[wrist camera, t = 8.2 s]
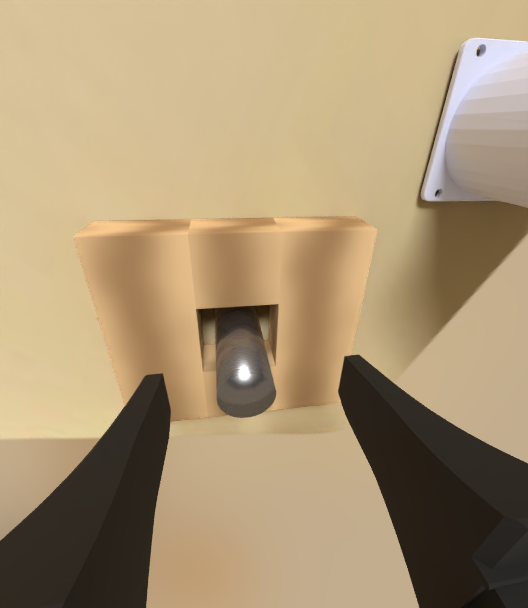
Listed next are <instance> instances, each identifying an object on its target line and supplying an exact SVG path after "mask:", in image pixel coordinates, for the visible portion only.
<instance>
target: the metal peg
mask: <svg viewBox="0 0 528 608" xmlns="http://www.w3.org/2000/svg"><path fill="white" fill-rule="evenodd" d="M215 342H216V390H217V404H218V406H219V408H220V409H221V410H222V411H223V412H224V413H226V414H228V415H230V416H233V417H240V418H245V417H252V416H256V415H258V414H261V413H263V412H264V411H266V410H267V409H268V408H269V407H270V406H271V405H272V404H273V403H274V401H275V398H276V388H275V384H274V380H273V376H272V372H271V368H270V364H269V360H268V356H267V352H266V348H265V344H264V340H263V336H262V332H261V328H260V324H259V320H258V316H257V312H256V308H255V306H238V307H221V308H216V309H215Z"/></svg>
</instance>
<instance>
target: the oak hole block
mask: <svg viewBox="0 0 528 608" xmlns="http://www.w3.org/2000/svg"><path fill="white" fill-rule="evenodd" d="M377 231H378V229H376V228H374V227H373V226H371V225H369V224H368V223H366V222H364V221H363V220H361V219H359V218H358V217H356V216H350V217H296V218H242V219H188V220H135V221H93V222H92V223H91V224H89V225H88V226H87V227H86V228H84V229H83V230H82V231H81V232H79V233H78V234H77V235H75V236H74V237H73V239H74V242H75V245H76V248H77V252H78V255H79V258H80V261H81V265H82V268H83V271H84V274H85V278H86V281H87V284H88V288H89V291H90V294H91V297H92V301H93V304H94V307H95V310H96V314H97V317H98V320H99V323H100V327H101V330H102V333H103V336H104V340H105V343H106V346H107V349H108V353H109V356H110V359H111V363H112V366H113V369H114V372H115V376H116V379H117V382H118V385H119V389H120V392H121V395H122V398H123V402H124V405H126V404H127V402H128V401H129V399H130V398H131V396H132V395H133V393H134V392H135V390H136V389H137V387H138V386H139V384H140V383H141V381H142V379H143V378H144V377H145V376H146V375H150V374H161V373H163V376H164V380H165V385H166V390H167V394H168V399H169V403H170V408H171V418H170V421H179V420H188V419H197V418H206V417H215V416H224V415H228V414H226V413H224V412H223V411H222V410H221V409H220V408H219V406H218V404H217V390H216V344H211V345H204V342H203V332H202V322H201V312H200V309H204V308H221V307H238V306H255V305H270V314H269V340H264V344H265V348H266V352H267V356H268V360H269V364H270V368H271V372H272V376H273V380H274V384H275V388H276V398H275V401H274V403H273V404H272V405H271V406H270V407H269V408H268V409H267V410H266V411H270V410H279V409H288V408H297V407H306V406H315V405H324V404H334V403H341V400H340V397H339V394H338V388H339V383H340V378H341V372H342V367H343V361H344V356H350V355H351V353H352V349H353V344H354V339H355V334H356V330H357V325H358V320H359V316H360V311H361V306H362V302H363V297H364V292H365V287H366V283H367V278H368V273H369V269H370V264H371V259H372V255H373V250H374V245H375V240H376V236H377Z"/></svg>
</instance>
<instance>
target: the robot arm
mask: <svg viewBox="0 0 528 608" xmlns="http://www.w3.org/2000/svg"><path fill="white" fill-rule="evenodd" d="M478 47H480V54H479V56H478V57H477V55H476V51H477V48H478ZM437 190H439V192H438V194H437V195H436V196H435V192H436V191H437ZM421 198H422V199H423V200H425V201H502V202H506V203H510V204H514V205H518V206H522V207H526V208H528V42H527V41H514V40H500V39H487V38H472V39H469V40H467V41H465V42H464V43H463V44H462V46H461V47H460V50H459V53H458V57H457V60H456V64H455V68H454V72H453V75H452V79H451V83H450V86H449V90H448V94H447V98H446V101H445V105H444V109H443V112H442V116H441V120H440V124H439V127H438V131H437V135H436V138H435V142H434V146H433V150H432V153H431V157H430V161H429V164H428V168H427V172H426V176H425V179H424V183H423V187H422V191H421ZM338 394H339V397H340V400H341V403H342V406H343V409H344V412H345V414H346V417H347V419H348V421H349V423H350V425H351V427H352V429H353V431H354V434H355V436H356V438H357V439H358V442H359V444H360V446H361V448H362V450H363V452H364V454H365V456H366V458H367V460H368V462H369V464H370V466H371V468H372V471H373V473H374V475H375V477H376V480H377V482H378V485H379V487H380V490H381V493H382V496H383V498H384V501H385V504H386V506H387V509H388V512H389V515H390V518H391V520H392V523H393V526H394V529H395V531H396V534H397V538H398V540H399V543H400V546H401V549H402V553H403V556H404V558H405V562H406V565H407V568H408V571H409V574H410V578H411V581H412V584H413V588H414V591H415V594H416V598H417V601H418V604H419V608H528V463H526V462H524V461H521V460H519V459H517V458H515V457H513V456H511V455H509V454H507V453H505V452H502V451H501V450H499V449H497V448H495V447H493V446H490V445H489V444H487V443H485V442H483V441H481V440H480V439H478V438H476V437H474V436H472V435H470V434H468V433H467V432H465V431H463V430H461V429H460V428H458V427H456V426H455V425H453V424H452V423H450V422H448V421H447V420H445V419H443V418H442V417H440V416H439V415H437V414H436V413H434V412H433V411H431V410H430V409H428V408H427V407H425V406H424V405H422V404H421V403H419V402H418V401H417V400H415V399H414V398H413V397H411V396H410V395H409V394H407V393H406V392H405V391H403V390H402V389H401V388H399V387H398V386H397V385H395V384H394V383H393V382H392V381H390V380H389V379H388V378H387V377H385V376H384V375H383V374H382V373H381V372H379V371H378V370H377V369H376V368H374V367H373V366H372V365H371V364H370V363H368V362H367V361H366V360H365V359H363V358H362V357H361V356H360V355H350V356H344V361H343V367H342V372H341V378H340V383H339V388H338ZM170 418H171V408H170V403H169V399H168V394H167V390H166V385H165V380H164V376H163V373H161V374H150V375H146V376H145V377H144V378H143V379H142V381H141V383H140V384H139V386H138V387H137V389H136V390H135V392H134V393H133V395H132V396H131V398H130V399H129V401H128V402H127V404H126V405H125V407H124V408H123V409H122V411H121V412H120V414H119V415H118V416H117V418H116V419H115V421H114V422H113V423H112V425H111V426H110V427H109V429H108V430H107V431H106V432H105V434H104V435H103V436H102V437H101V439H100V440H99V441H98V442H97V444H96V445H95V446H94V447H93V449H92V450H91V451H90V452H89V454H88V455H87V456H86V457H85V458H84V459H83V460H82V462H81V463H80V464H79V465H78V466H77V467H76V468H75V469H74V470H73V471H72V473H71V474H70V475H69V476H68V477H67V478H66V479H65V480H64V481H63V482H62V483H61V484H60V485H59V486H58V487H57V488H56V489H55V490H54V491H53V492H52V493H51V494H50V495H49V496H48V497H47V498H46V499H45V500H44V501H43V502H42V503H41V504H40V505H39V506H38V507H37V508H36V509H35V510H34V511H33V512H32V513H31V514H29V515H28V516H27V517H26V518H25V519H24V520H23V521H22V522H21V523H20V524H19V525H17V526H16V527H15V528H14V529H13V530H12V531H11V532H10V533H9V534H7V535H6V536H5V537H4V538H3V539H2V540H1V541H0V608H146V601H147V588H148V576H149V575H148V574H149V565H150V554H151V543H152V534H153V525H154V515H155V508H156V501H157V496H158V490H159V486H160V481H161V475H162V471H163V465H164V460H165V455H166V450H167V444H168V439H169V431H170Z"/></svg>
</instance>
